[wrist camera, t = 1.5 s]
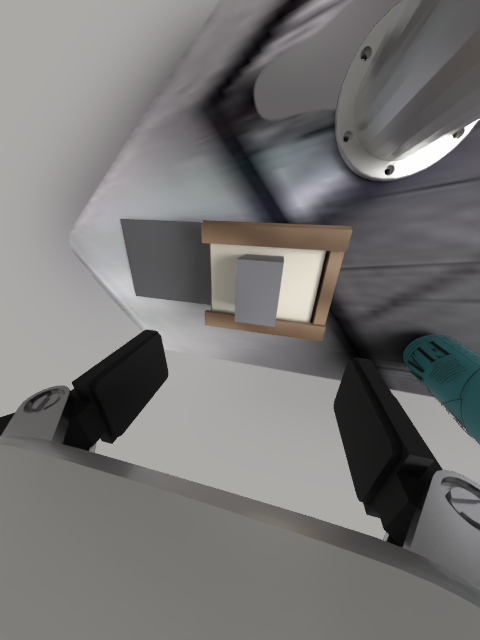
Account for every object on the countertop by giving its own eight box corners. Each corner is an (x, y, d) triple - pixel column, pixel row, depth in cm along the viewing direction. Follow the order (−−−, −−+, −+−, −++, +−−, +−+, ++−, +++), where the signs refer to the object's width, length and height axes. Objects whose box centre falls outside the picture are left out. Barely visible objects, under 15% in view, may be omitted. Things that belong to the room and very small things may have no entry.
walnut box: (224, 223, 26) (200, 219, 18) (332, 228, 23) (353, 226, 16) (223, 304, 31) (205, 327, 24) (311, 315, 28) (321, 343, 21)
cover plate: (213, 236, 21) (192, 237, 16) (326, 242, 19) (340, 246, 14) (214, 310, 25) (197, 329, 20) (308, 322, 23) (314, 346, 18)
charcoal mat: (123, 219, 28) (120, 219, 28) (210, 223, 26) (209, 222, 25) (138, 294, 34) (136, 295, 33) (212, 303, 31) (211, 304, 31)
